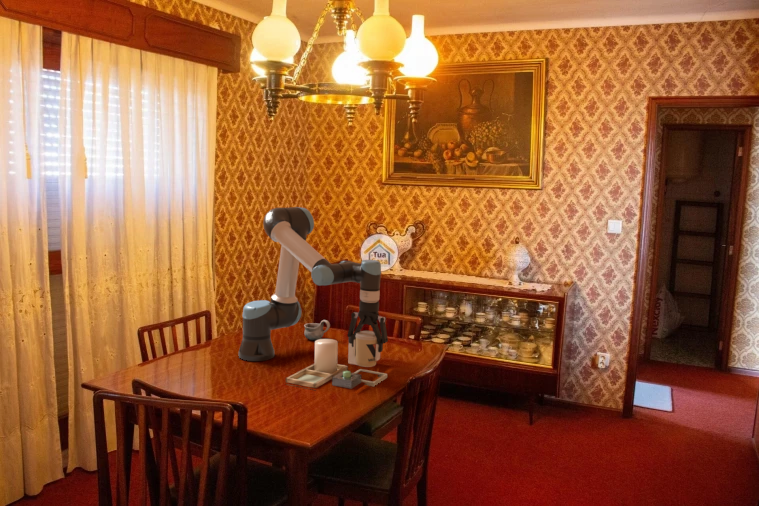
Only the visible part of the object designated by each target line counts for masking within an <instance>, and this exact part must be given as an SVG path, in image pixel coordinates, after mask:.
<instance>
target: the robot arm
mask: <svg viewBox="0 0 759 506" xmlns="http://www.w3.org/2000/svg"><path fill="white" fill-rule="evenodd" d="M262 225H263V229H264V232H265V234H266V235H267V236H268V238H269V239H271V241H273V242H274V243H279V244H280V247H281V248H280V254H279V255H280V256H279V262H278V271H277V276H276V283H275V284H276V285H275V291H274V293H273V294H272V295H271V296H270V301H269V300H267V299H264V300H263V299H260V300H253V301H250V302H247V303H245V305H244V306H243V309H242V339H241V343H240V346H239V350H238V353H237V354H238V356H239V357H238V358H239V359H240V358H241V359H240V360H242V359H243V360H242V361H246V360H247V362H263V361H267V360H271V359H273V358H274V357H275V349H274V346H273V345H274V344H273V343H272V339H271V333H272V331H273V330H277V329H282V328H283V329H284V328H289V327H291V326H294V325H296V324H297V323H298V322H300V319H301V317H302V307H301V304H300V302H299V300H298V297H297V296H296V288H297V281H298V276H299V267H300V264H301V265H302V266H304V267H305V268H306V269H307V270H308V271H309V272H310V273H311V274H310V275H311V279H312V282H313V283H314V284H315V285H316V286H323V287H324V286H330V285H338V284H342V283H349V282H350V283H351V282H352V283H358V284H360V285H359V286H360V287H359V289H360V290H359V307H358V308H359V309H358V312H357V311H354V312H352V313H351V320H350V324H349V328H348V332H347V338H349V337H351V338H352V347H353V356H356V337H355V335H356V333H358V332H360V331H362V328H363V327H364V325H367V326H370V327H371V328H372V331H373V332H374V333H375V336H376V338H377V341H378V343H377V344H376V356H375V361H376V362H378V361H380V359H381V352H383V349H384V348H383V347H384V344H386V343H387V342H389V340H388V332H387V325H386V321H387V317H386V316H381V315H380V314H379V309H380V302H379V300H380V296H381V294H380V293H381V292H380V290H381V288H380V287H381V279H382V278H381V277H382V264H381V261H379V260H376V259H363V260H362V261H361V263H359V262H355V261H351V260H341V261H340V262H338V263H331V262H330V261H328V259H326V258H325V257H324V256H323V255H322V254H321V253H319V252H318V251H317V250H316V249H315V248H314V247H313V246H312V245H311V244H309V242H307V235H309V234H311V233H312V232H313V230H314V229H315V220H314V217H313V215H312V213H311V211H310V210H309V209H307V208H306V207H299V206H293V207H292V206H291V207H290V206H289V207H274V208H272V209H270V210H269V211H268V212H266V214H265V215H264V217H263V222H262ZM358 318H359V321H358ZM357 321H358V325H357ZM378 322H379V324H378ZM356 325H357V326H356Z"/></svg>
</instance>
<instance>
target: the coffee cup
mask: <svg viewBox="0 0 759 506" xmlns="http://www.w3.org/2000/svg"><path fill="white" fill-rule="evenodd" d="M355 337H356V364H357V365H356V366H359V367H363V368H371V367H375V366H376V365H377V361H375V356H376V344H377V343H378V341H377V338H376V336H375V333H374V331H373V330H361V331H360V332H358V333H356V335H355Z"/></svg>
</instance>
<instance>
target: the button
mask: <svg viewBox="0 0 759 506" xmlns="http://www.w3.org/2000/svg"><path fill="white" fill-rule="evenodd" d="M351 373H352V372H351V370H347V371H343V377H345V378H350V377H351Z"/></svg>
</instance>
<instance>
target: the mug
mask: <svg viewBox="0 0 759 506" xmlns="http://www.w3.org/2000/svg"><path fill="white" fill-rule="evenodd" d="M324 323H325V325H326V329H324ZM303 327H304V333H303V335H304V337H305V338H306V339H308V340H310V341H316V340H319V339H323V336H324V335H325V334H324V333H326V332H328V331H329V330H330V327H331V324H330V322H329V320H326V319H323V320H321V321H320V323H316V322H315V323H314V322H312V323H311V322H309V323H305V324H304V325H303Z"/></svg>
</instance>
